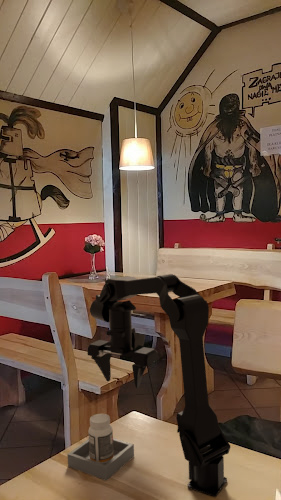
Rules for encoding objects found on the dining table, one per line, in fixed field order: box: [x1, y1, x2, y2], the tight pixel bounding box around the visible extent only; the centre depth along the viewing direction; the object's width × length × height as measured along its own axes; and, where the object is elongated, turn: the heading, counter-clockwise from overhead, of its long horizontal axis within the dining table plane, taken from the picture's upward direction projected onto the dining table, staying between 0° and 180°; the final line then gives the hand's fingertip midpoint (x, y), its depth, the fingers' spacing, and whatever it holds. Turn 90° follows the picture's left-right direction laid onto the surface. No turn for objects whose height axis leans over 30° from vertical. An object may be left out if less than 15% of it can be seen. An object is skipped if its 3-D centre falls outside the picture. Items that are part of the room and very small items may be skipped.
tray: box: [67, 437, 135, 482], centre depth 105 cm, size 11×11×3 cm
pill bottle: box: [87, 413, 114, 464], centre depth 104 cm, size 6×6×10 cm
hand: (122, 384), depth 117 cm, fingers open, 9 cm apart
